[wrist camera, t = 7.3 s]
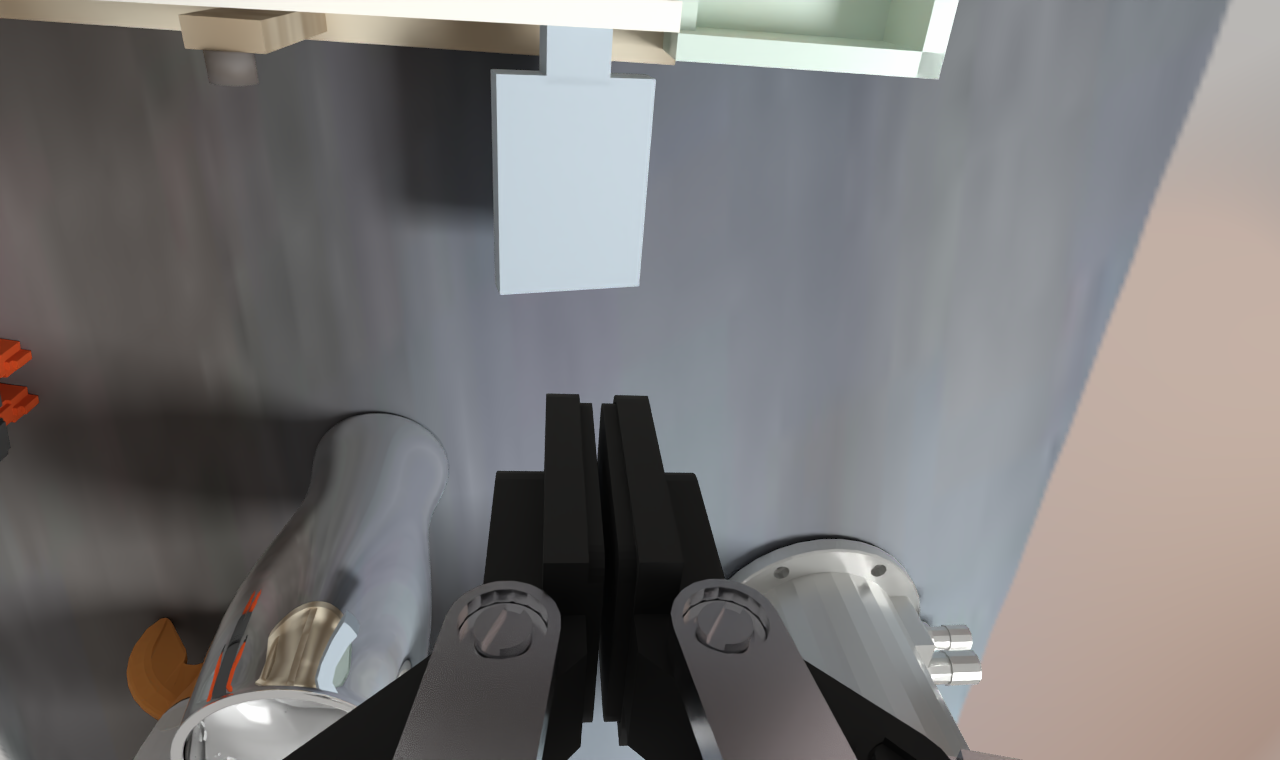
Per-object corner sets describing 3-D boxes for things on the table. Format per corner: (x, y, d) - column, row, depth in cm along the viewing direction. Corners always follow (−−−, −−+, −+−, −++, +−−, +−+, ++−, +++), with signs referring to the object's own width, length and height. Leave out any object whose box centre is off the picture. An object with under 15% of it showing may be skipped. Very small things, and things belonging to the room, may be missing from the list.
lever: (645, -207, 22) (717, -240, 18) (615, 258, 29) (662, 313, 25) (-534, -402, 14) (-901, -542, 10) (-181, 297, 21) (-307, 387, 17)
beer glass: (274, 435, 34) (105, 736, 21) (413, 381, 33) (327, 657, 20) (357, 540, 37) (256, 853, 24) (483, 493, 37) (449, 789, 24)
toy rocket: (351, 697, 44) (200, 1013, 32) (174, 634, 43) (-58, 939, 30) (392, 599, 39) (228, 935, 26) (190, 521, 37) (-86, 840, 25)
